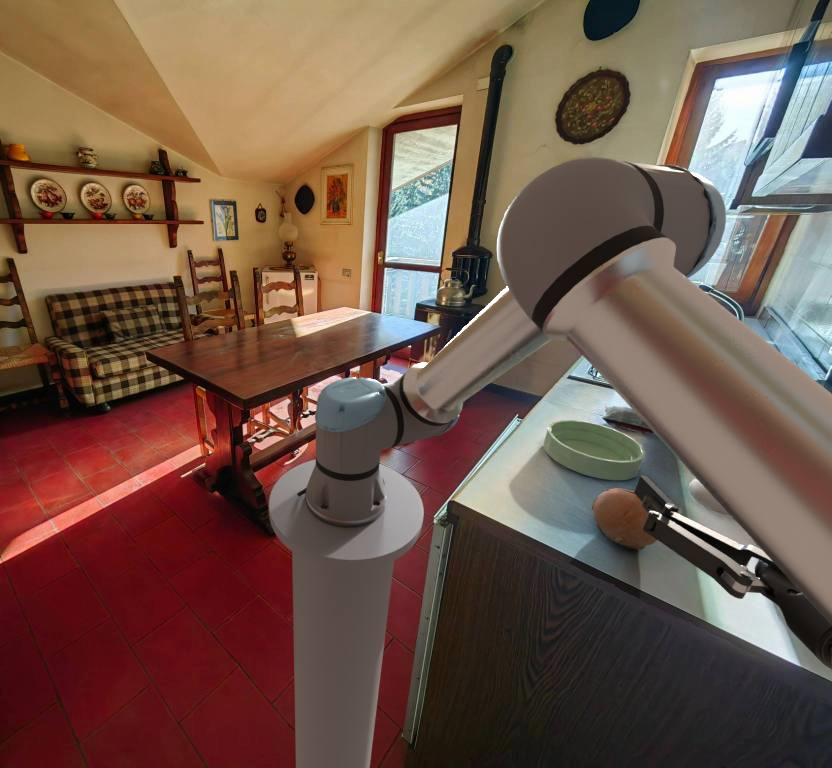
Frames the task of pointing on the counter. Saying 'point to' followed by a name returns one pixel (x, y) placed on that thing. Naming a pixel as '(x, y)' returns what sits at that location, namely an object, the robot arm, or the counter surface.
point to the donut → (705, 497)
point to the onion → (622, 518)
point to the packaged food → (626, 419)
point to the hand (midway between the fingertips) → (697, 490)
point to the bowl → (594, 449)
